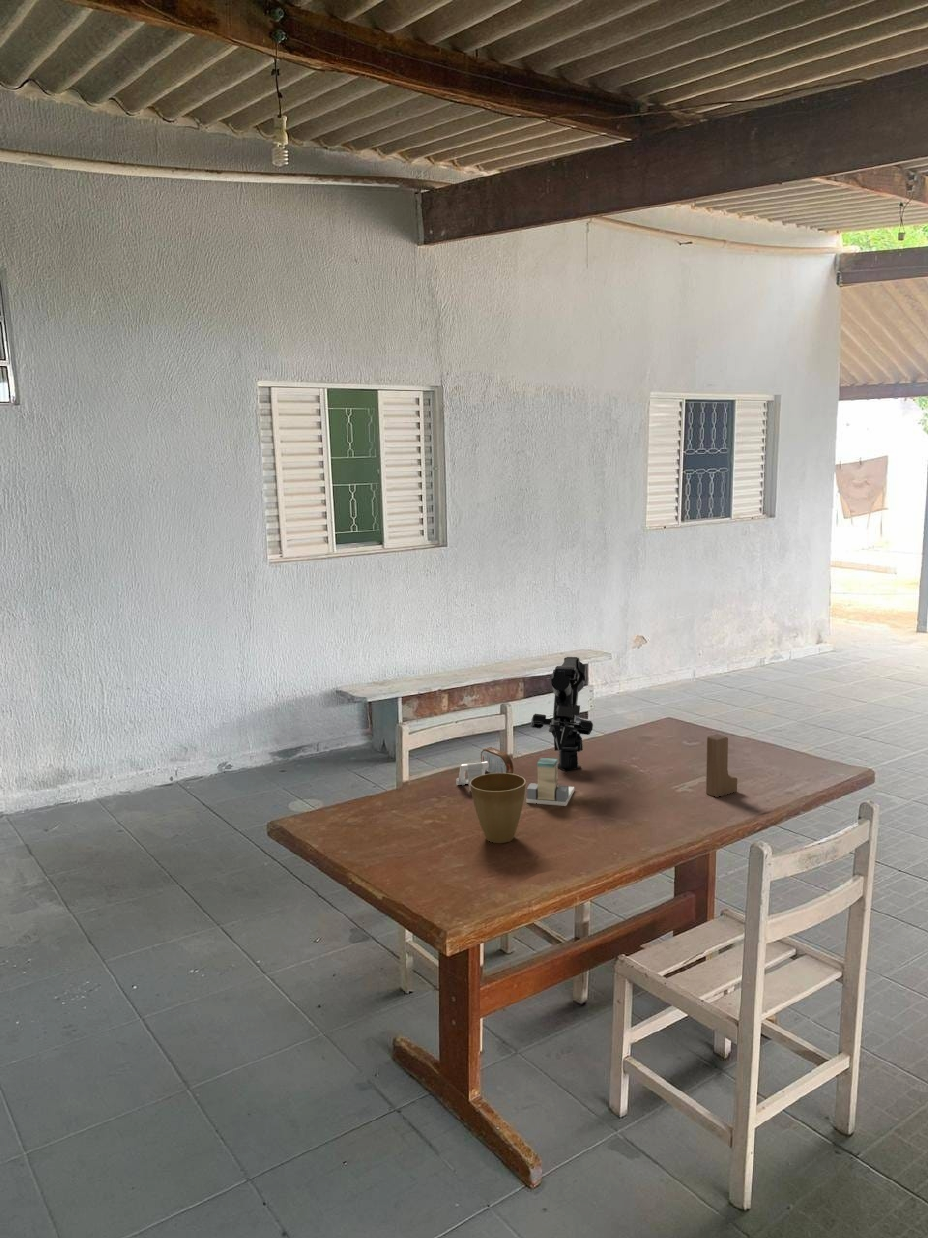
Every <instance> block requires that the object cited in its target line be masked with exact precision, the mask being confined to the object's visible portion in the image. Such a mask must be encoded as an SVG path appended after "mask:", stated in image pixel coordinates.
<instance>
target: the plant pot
mask: <svg viewBox="0 0 928 1238" xmlns="http://www.w3.org/2000/svg"><path fill="white" fill-rule="evenodd" d="M526 782H527V781H526V779H525V778H524V777H523V776H521V775H518V774H515V773H513V774H511V773H485V774H484V775H480V776H477V777H475V778H473V779H472V780H471V781H470V787H471V795H472V796H471V797H472V801H473V805H474V808H475V812H476V816H477V819H478V822H479V824H480V827H481V830H482V832H483V834H484V836H485V839H486V840H487V841H488V842H489V841H490V842H489V843H492V842H493V844H504V843H508V842H511V841H513V840H514V838H515V835H516V832H517V828H518V826H519V823H520V819H521V816H522V809H523V805H524V799H525V791H526Z"/></svg>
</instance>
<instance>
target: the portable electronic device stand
mask: <svg viewBox="0 0 928 1238" xmlns="http://www.w3.org/2000/svg"><path fill="white" fill-rule="evenodd" d="M488 767H489V764H488V762H487V761H486V762H480V761H479V762H474V763H473V762H472V763H463V764H460V766H459V774H458V778H456V779H455V782H456V783H455V784H456V786H457V785H462V786H466V785H465V784H468V788H469V789H468V790H469V792H470V791H471V787H470V781H471V780H472V779H473V778H475V777H477V776H480V775H484V774H486V771H485V770H486V768H488ZM466 775H467V777H466Z"/></svg>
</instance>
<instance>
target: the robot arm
mask: <svg viewBox="0 0 928 1238" xmlns="http://www.w3.org/2000/svg"><path fill="white" fill-rule="evenodd" d="M586 668H587V667H586V665H585V664H583V662H581V660H580V657H577V656H565V657H564V659H563V663H562V664H561V665H557V666H555V667H554V669H553V671H552V673H551V678H550V683H551V687H552V692H553V694H554V699H553V715H552V719H549V718H547V715H546V714H539V713H534V714H533V715H532V716H531V717H532V718H531V721H530V728H533V729H542V728H543V727H544V726H549V728H548V733H550V734H551V735H552V736H553V748H554V751H555V752H558V763H557V769H560V770H561V771H562V770H563V771H564V772H568V771H573V770H578V769H582V766H581V765H579V761H578V759H579V756H578V753H579V752H581V751H583V749H584V745H583V738H582V736H581V735H586V736H588V735H590V734H591V733H592V730H593V727H594V724H593V722H592V721H591V720H585V719H579V721H578V722H576V719H577V718H576V717H577V716H578V717H579V716H580V712H581V705H578V699H579V693H580V691H582V690H583V689H584V687H585V682H586V681H587V669H586Z"/></svg>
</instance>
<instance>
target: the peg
mask: <svg viewBox="0 0 928 1238" xmlns="http://www.w3.org/2000/svg"><path fill="white" fill-rule="evenodd" d="M536 764H537V765H536V767H537V769H536V770H537V784H538V799H546V800H555V791H556V789H557V787H558V785H559V784H558V783H559V782H558V780H559V779H558V767H557V764H558V758H548V757H546V758H545V757H541V758H539V760H538V761H537V763H536Z"/></svg>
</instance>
